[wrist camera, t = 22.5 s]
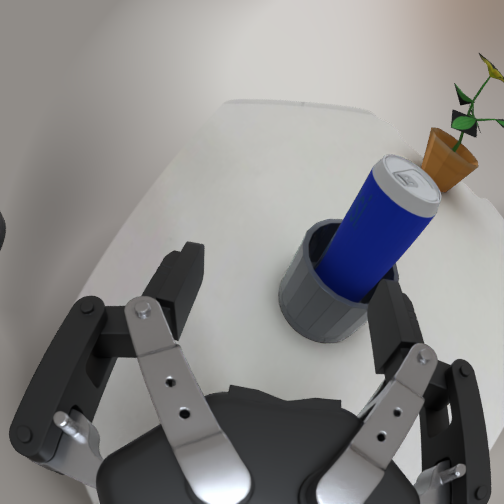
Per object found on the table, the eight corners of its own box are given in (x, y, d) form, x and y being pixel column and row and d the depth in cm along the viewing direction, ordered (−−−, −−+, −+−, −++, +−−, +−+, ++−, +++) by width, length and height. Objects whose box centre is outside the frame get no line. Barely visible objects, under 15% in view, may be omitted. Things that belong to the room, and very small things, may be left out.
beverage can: (334, 270, 30) (410, 153, 18) (358, 312, 27) (456, 203, 15) (292, 281, 28) (363, 149, 16) (316, 329, 25) (417, 209, 13)
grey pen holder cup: (264, 318, 26) (287, 276, 20) (295, 251, 31) (317, 204, 26) (350, 357, 25) (393, 326, 19) (366, 285, 31) (400, 246, 25)
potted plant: (442, 217, 44) (526, 85, 21) (384, 151, 54) (442, 31, 30) (475, 210, 51) (541, 111, 27) (427, 156, 60) (478, 61, 37)
